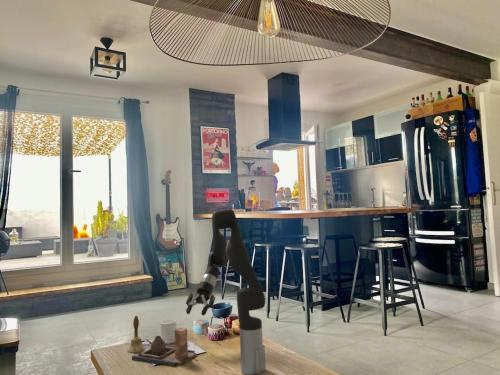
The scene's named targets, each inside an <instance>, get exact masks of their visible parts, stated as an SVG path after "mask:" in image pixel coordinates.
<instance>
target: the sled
mask: <svg viewBox="0 0 500 375" xmlns="http://www.w3.org/2000/svg"><path fill="white" fill-rule="evenodd" d="M174 331H175V342H174V347H171V346H166V351H165V354H163V355H161V356H155V355H152V354H151V347H150V348H149V349H147V350H143V351H141V352H139V355H138V356H141V357H148V358H154V359H160V360H166V361H173V362H176V366H182V365H184V364H186V363H187V362H189V361H191V360H192V359H193V358H195V357H197V355H198V354H197V352H195V353H192V352H188V350H189V349H188V348H189V347H188V346H189V344H188V328H186V327H185V328H184V327H178V328H176V330H174Z"/></svg>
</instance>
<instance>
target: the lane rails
mask: <svg viewBox="0 0 500 375" xmlns="http://www.w3.org/2000/svg"><path fill="white" fill-rule="evenodd" d="M188 352H192V353H196V350H190V349H188ZM131 360H134V361H138V362H139V361H140V362H145V363H151V364H156V363H157V364H158V365H162V366H170V367H175V368H176V367H177V365H176V362H173V361H166V360H160V359H154V358H148V357H141V356H139V355H135V354H133V355H131Z"/></svg>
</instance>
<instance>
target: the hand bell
mask: <svg viewBox="0 0 500 375" xmlns="http://www.w3.org/2000/svg"><path fill="white" fill-rule="evenodd" d="M133 318H134V319H133V322H132V323H133V329H134V332H133V333H134V335H133V337H132V338H131V340H130V345H129V347H128V348H127V353H130V354H131V353H134V354H135V353H142V352H144V351H146V350H145V349H146V347H145V346H144V345H143V343H142V338H141V337H139V333H138V332H139V326H140V325H139V324H140V321H139V318H138V315H135V316H134V317H133Z"/></svg>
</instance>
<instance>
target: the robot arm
mask: <svg viewBox="0 0 500 375" xmlns="http://www.w3.org/2000/svg"><path fill="white" fill-rule="evenodd" d="M211 226H212V227H211V228H212V238H213V241H212V251H210V253H209V254H208V257H207V258H208V259H207V260H208V261H207V266H206V270H205V272H204V274H203V276H202V278H201V280H200V282H199V284H198V287H197V289H196V293H194V294H193V293H192V292H190V293H189V295H188V296H187V297H188V298H187V299H186V301H185V304H186V306H187V308H186V309H185V312H186V314H187V315H190V313H191V311H192V309H193V307H194V306H197V305H200V304H201V305H204V306H203V308H202V310H201V313H200V314H201V316H202V317H203V316H205V315H206V314H207V312H208V310H209V309H212V308H213V306H214V304H215V300H216V297H215V295H214V294H213V291H214V289H215V288H216V287H215V286H216V285H217V280H218V277H219V274H220V268H224V267H226V266H227V265H228V264H229V266H230V267H231V268H232V269H233V271H235V273H237V274H238V275H239V276H240V277H241V278H242V279H243V280H244V281H245V282H246V284H247V287H242V288H239V289H238V290H237V293H236V306H237V316H238V318H237V319H238V323H239V325H238V326H239V348H240V350H239V351H240V370H241V373H242V374H243V375H262V373H263V372H264V371H265V370H266V367H267V366H266V350H265V349H266V347H265V345H264V344H263V343H264V342H263V341H264V340H263V322H262V320H261V318H259V317H255V316H251V314H250V311H255V310H262V309H263V308H264V307H265V306H266V296H265V293H264V290H263V287H262V286H261V283H260V281H259V279H258V277H257V274H256V273H255V271H254V267H253V264H252V262H251V259H250V256H249V253H248V250H247V246H246V245H245V243H244V240H243V237H242V234H241V231H240V227H239V224H238V220H237V217H236V214H235V211H234V210H233V209H231V208H226V209H221V210H215V211H213V212H212V214H211ZM226 229H230V231H231V233H230V238H229V241H227V239H226V237H225V236H224V234H222V232H221V231H220V230H226ZM218 267H219V268H218Z"/></svg>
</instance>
